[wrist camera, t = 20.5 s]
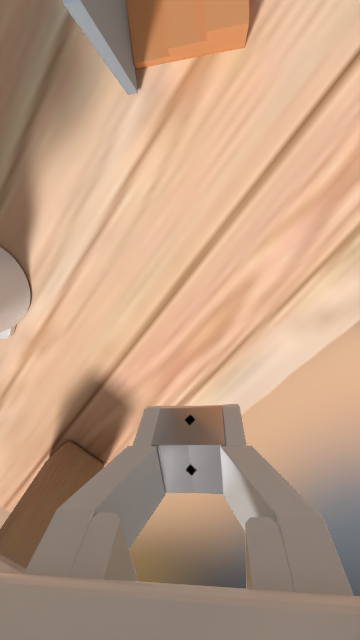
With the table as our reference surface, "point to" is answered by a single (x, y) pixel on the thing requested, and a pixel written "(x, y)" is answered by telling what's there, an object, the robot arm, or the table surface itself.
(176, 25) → the orange stepped block
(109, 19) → the door
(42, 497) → the wooden block
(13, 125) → the table surface
